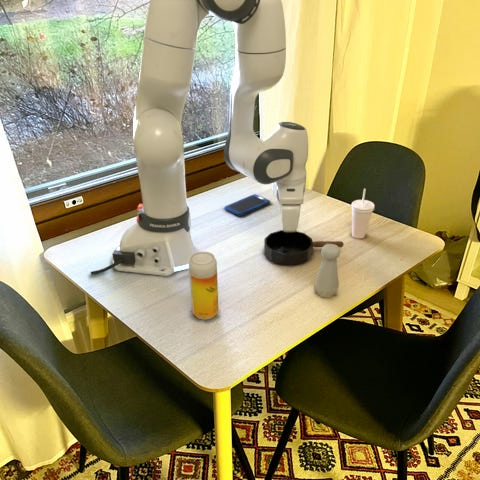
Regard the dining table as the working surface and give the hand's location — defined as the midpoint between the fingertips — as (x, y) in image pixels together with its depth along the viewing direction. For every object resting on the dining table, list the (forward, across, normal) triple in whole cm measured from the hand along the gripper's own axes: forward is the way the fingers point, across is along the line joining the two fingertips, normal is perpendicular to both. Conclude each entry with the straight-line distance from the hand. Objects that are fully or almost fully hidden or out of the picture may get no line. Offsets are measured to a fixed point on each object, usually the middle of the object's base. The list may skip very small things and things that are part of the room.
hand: (286, 231), depth 147 cm
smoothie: (+2, -2, +21) cm, 21 cm away
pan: (+2, +8, +4) cm, 10 cm away
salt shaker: (+2, +27, +8) cm, 29 cm away
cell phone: (+2, -21, -11) cm, 23 cm away
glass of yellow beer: (+2, +35, -21) cm, 41 cm away
